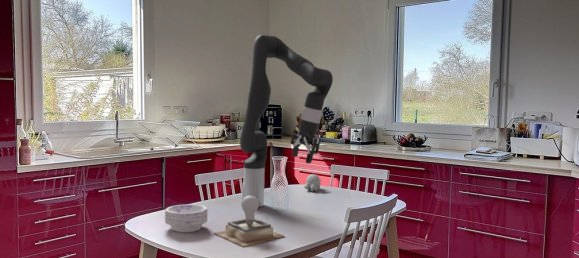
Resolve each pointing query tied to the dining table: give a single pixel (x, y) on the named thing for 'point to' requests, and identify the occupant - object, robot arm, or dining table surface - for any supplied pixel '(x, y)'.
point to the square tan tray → (248, 232)
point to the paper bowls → (186, 217)
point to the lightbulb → (250, 208)
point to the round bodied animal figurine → (312, 182)
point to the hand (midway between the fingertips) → (301, 159)
